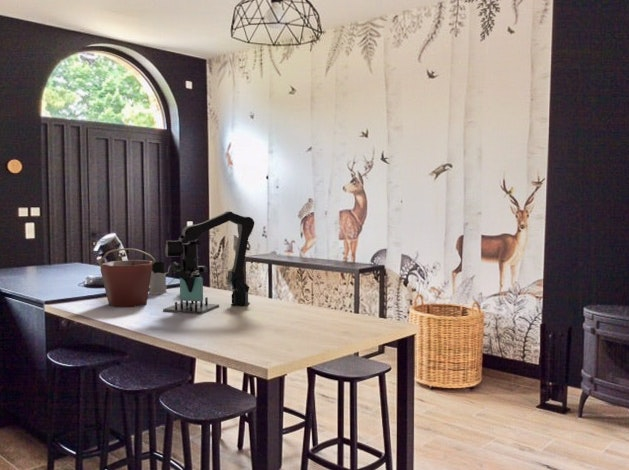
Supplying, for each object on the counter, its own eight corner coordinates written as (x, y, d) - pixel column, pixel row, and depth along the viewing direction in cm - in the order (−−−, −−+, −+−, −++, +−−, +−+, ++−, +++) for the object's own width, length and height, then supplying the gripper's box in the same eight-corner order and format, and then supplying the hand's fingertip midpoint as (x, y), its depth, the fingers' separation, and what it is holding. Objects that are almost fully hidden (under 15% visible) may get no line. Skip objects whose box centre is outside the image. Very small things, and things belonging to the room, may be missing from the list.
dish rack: (219, 306, 254) (218, 297, 254) (201, 314, 239) (200, 304, 239) (183, 304, 260) (182, 295, 260) (163, 311, 245) (163, 302, 245)
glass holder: (147, 292, 293) (146, 262, 292) (175, 289, 299) (175, 261, 298) (150, 294, 285) (149, 264, 284) (179, 292, 291) (178, 262, 290)
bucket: (92, 308, 252) (91, 251, 250) (109, 299, 274) (107, 246, 272) (149, 308, 252) (148, 250, 250) (161, 298, 274) (160, 246, 272)
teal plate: (203, 300, 249) (202, 277, 248) (200, 301, 247) (200, 278, 246) (182, 299, 252) (182, 276, 251) (180, 300, 250) (179, 277, 249)
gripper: (185, 252, 259) (186, 287, 260) (162, 257, 242) (163, 294, 243) (207, 253, 256) (208, 288, 257) (185, 258, 238) (186, 295, 239)
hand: (191, 291), depth 249 cm, fingers closed on teal plate, 2 cm apart
